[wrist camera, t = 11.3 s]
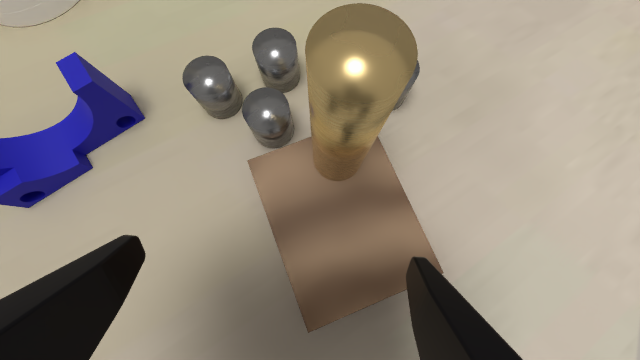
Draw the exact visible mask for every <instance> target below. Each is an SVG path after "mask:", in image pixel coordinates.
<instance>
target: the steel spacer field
mask: <svg viewBox="0 0 640 360" xmlns="http://www.w3.org/2000/svg"><path fill="white" fill-rule="evenodd" d="M252 50H253V54H254V56H255V59H256V62H257V65H258V68H259V71H260V73H261V76H262V79H263V82H264V84H265V86H266V87H265V88H259V89H257V90H254V91H253V92H251V93H250V94H249V95H248V96H247V97H246V99H245V100H244V102H243V106H242V113H243V117H244V119H245V121H246V122H247V124H248V125H249V127H250V129H251V130H252V132H253V134H254V135H255V137H256V139H257V140H258V141H259V143H261V144H262V145H263V146H265V147H268V148H279V147H282V146H284V145H285V144H287V143H288V142H289V141H290V139H291V138H292V136H293V132H294V126H293V122H292V117H291V113H290V108H289V104H288V101H287V99H286V97H285V96H284V94H283V93H284V92H288V91H290V90H292V89H293V88H294V87H295V86H296V85H297V84H298V82H299V79H300V72H299V64H298V55H297V47H296V41H295V39H294V37H293V36H292V34H291V33H289V32H288V31H286V30H284V29H281V28H269V29H266V30H264V31H262V32H260V33H259V34H258V35H257V36H256V37H255V39H254V41H253V45H252ZM419 70H420V67H419V63H418V60H417V64H416V67H415V70H414V72H413V74H412V76H411V78H410V80H409V82H408V83H407V85H406V87H405V89H404V90H403V92H402V94H401V96H400V97H399V99H398V101H397V103H396V104H395V106H394V108H393V110H395V109H397V108H398V107H399V106H400V105H401V104H402V102H403V101H404V99H405V97H406V96H407V94H408V92H409V90H410V89H411V87H412V85H413V84H414V82H415V80H416V79H417V77H418V75H419ZM183 83H184V85H185V87H186V88H187V90H188V91H189V92H190V93H191V94H192V95H193V97H194V98H195V99H196V100H197V101H198V102H199V103H200V105H201V106H202V107H203V108H204V109H205V110H206V112H207V113H208V114H209V115H211V116H212V117H214V118H218V119H225V118H229V117H231V116H233V115H235V114H236V113H237V112H238V111H239V109H240V108H241V105H242V95H241V93H240V91H239V89H238V87H237V85H236V84H235V82H234V80H233V78H232V76H231V74H230V72H229V70H228V69H227V67H226V65H225V63H224V62H223V61H222V60H220V59H219V58H217V57H214V56H201V57H198V58H196V59H194V60H192V61H191V62H190V63H189V64H188V65H187V66H186V68H185V70H184V72H183Z"/></svg>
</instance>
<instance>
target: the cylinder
mask: <svg viewBox="0 0 640 360" xmlns="http://www.w3.org/2000/svg"><path fill="white" fill-rule="evenodd" d="M78 1H79V0H0V24H1V25H5V26H11V27H26V26H33V25H38V24H41V23H44V22H47V21H50V20H52V19H54V18H57V17H58V16H60V15H62V14H63V13H65V12H66V11H68V10H69V9H71V8H72V7H73V6H74V5H75V4H76V3H77V2H78Z"/></svg>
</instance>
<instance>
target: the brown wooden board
mask: <svg viewBox="0 0 640 360" xmlns="http://www.w3.org/2000/svg"><path fill="white" fill-rule="evenodd" d="M248 164H249V167H250V170H251V172H252V175H253V178H254V181H255V184H256V186H257V189H258V192H259V195H260V198H261V201H262V203H263V206H264V209H265V212H266V215H267V218H268V220H269V223H270V226H271V229H272V232H273V235H274V237H275V240H276V243H277V246H278V249H279V251H280V254H281V257H282V260H283V263H284V266H285V268H286V271H287V274H288V277H289V280H290V283H291V285H292V288H293V291H294V294H295V297H296V299H297V302H298V305H299V308H300V311H301V314H302V316H303V319H304V322H305V325H306V328H307V331H308V333H309V332H311V331H313V330H316V329H318V328H320V327H322V326H325V325H327V324H329V323H331V322H334V321H336V320H338V319H341V318H343V317H345V316H347V315H350V314H352V313H354V312H356V311H359V310H361V309H363V308H365V307H368V306H370V305H372V304H375V303H377V302H379V301H381V300H384V299H386V298H388V297H390V296H393V295H395V294H397V293H399V292H402V291H404V290H406V289H407V284H406V272H407V269H408V266H409V263H410V260H411V258H412V257H414V256H416V257H425V258H427V259H428V260H429V261H430V262H431V264H432V265H433V266H434V267H435V268H436V269H437V270H438V271H439V272H440V273H441V274H442V273H443V271H442V269H441V267H440V265H439V262H438V260H437V258H436V256H435V254H434V252H433V250H432V248H431V246H430V244H429V242H428V240H427V238H426V235H425V233H424V231H423V229H422V227H421V225H420V223H419V221H418V219H417V217H416V215H415V213H414V211H413V208H412V206H411V204H410V202H409V200H408V198H407V196H406V194H405V192H404V190H403V188H402V186H401V184H400V181H399V179H398V177H397V175H396V173H395V171H394V169H393V167H392V165H391V163H390V161H389V159H388V157H387V154H386V152H385V150H384V148H383V146H382V144H381V142H380V140H379V138H378V136H377V138H376V139H375V141H374V143H373V145H372V146H371V148H370V150H369V152H368V153H367V155H366V157H365V159H364V160H363V162H362V164H361V166H360V167H359V169H358V171H357V172H356V173H355V174H354V175H353V176H352V177H350V178H349V179H346V180H343V181H332V180H329V179H326V178H325V177H323V176H322V175H321V174H320V173H319V172H318V171H317V169H316V167H315V165H314V161H313V148H312V137H309V138H306V139H304V140H301V141H298V142H296V143H293V144H290V145H288V146H285V147H282V148H280V149H277V150H274V151H272V152H269V153H266V154H264V155H261V156H258V157H256V158H253V159H250V160H248Z"/></svg>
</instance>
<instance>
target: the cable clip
mask: <svg viewBox="0 0 640 360" xmlns="http://www.w3.org/2000/svg"><path fill="white" fill-rule="evenodd" d="M56 64H57V66H58V67H59V69H60V71H61V72H62V74H63V76H64V78H65V79H66V81H67V83H68V84H69V86H70V88H71V90H72V91H73V93H75V94H76V95H78V99H77V103H76V105H75V108H74V109H73V111H72V112H71V113H70V114H69V115H68V116H67V117H66V118H65V119H64V120H62V121H61V122H59V123H58V124H56V125H54V126H52V127H50V128H48V129H45V130H43V131H39V132H36V133H33V134H29V135H24V136H19V137H12V138H0V205H9V206H17V207H25V208H29V207H31V206H33V205H34V204H36V203H37V202H39V201H41V200H42V199H44V198H45V197H47V196H49V195H50V194H52V193H53V192H55V191H57V190H58V189H60V188H61V187H63V186H65V185H66V184H68V183H69V182H71V181H73V180H74V179H76V178H78V177H79V176H81V175H82V174H84V173H86V172H87V171H89V170H90V169H92V168H93V167H92V165H91V163H90V162H89V160H88V158H87V156H86V154H88V153H90V152H91V151H93V150H95V149H96V148H98V147H99V146H101V145H103V144H104V143H106V142H108V141H109V140H111V139H112V138H114V137H116V136H117V135H119V134H121V133H122V132H124V131H126V130H127V129H129V128H130V127H132V126H134V125H135V124H137V123H139V122H140V121H142V120H143V119H145V117H144V116H143V114H142V113H141V111H140V109H139V108H138V106H137V105H136V103H135V102H134V100H133V99H132V97H131V95H130V94H128V93H127V92H126V91H124V90H123V89H122V88H121V87H119V86H118V85H117V84H115V83H114V82H113V81H112V80H110V79H109V78H108V77H106V76H105V75H104V74H103V73H101V72H100V71H99V70H97V69H96V68H95V67H93V66H92V65H91V64H90V63H88V62H87V61H86V60H84V59H83V58H82V57H81V56H79V55H78V54H77V53H75V52H74V53H72V54H71V55H69V56H67V57H65V58H63V59H61V60H60V61H58V62H56Z"/></svg>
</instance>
